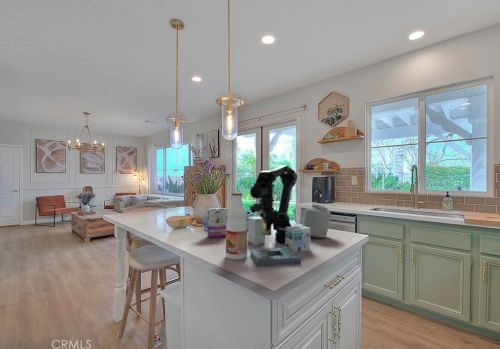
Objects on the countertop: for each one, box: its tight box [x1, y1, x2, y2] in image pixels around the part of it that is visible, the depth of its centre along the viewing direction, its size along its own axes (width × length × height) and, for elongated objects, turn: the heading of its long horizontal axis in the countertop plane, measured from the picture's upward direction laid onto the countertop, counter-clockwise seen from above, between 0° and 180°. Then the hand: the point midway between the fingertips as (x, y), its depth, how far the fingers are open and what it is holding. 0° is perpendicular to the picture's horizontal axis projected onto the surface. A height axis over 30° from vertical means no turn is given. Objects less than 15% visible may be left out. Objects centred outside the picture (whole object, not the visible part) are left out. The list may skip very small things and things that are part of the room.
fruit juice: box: [225, 191, 248, 261], centre depth 104 cm, size 9×9×28 cm
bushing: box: [262, 219, 272, 236], centre depth 114 cm, size 4×4×7 cm
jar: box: [301, 194, 332, 239], centre depth 139 cm, size 19×15×25 cm
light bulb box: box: [284, 224, 311, 253], centre depth 115 cm, size 11×7×11 cm, turn 117°
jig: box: [250, 246, 302, 268], centre depth 101 cm, size 18×14×2 cm
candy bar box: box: [207, 207, 228, 239], centre depth 138 cm, size 11×5×16 cm, turn 104°
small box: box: [247, 216, 266, 245], centre depth 127 cm, size 8×6×13 cm
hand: (266, 229), depth 114 cm, fingers closed on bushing, 4 cm apart
